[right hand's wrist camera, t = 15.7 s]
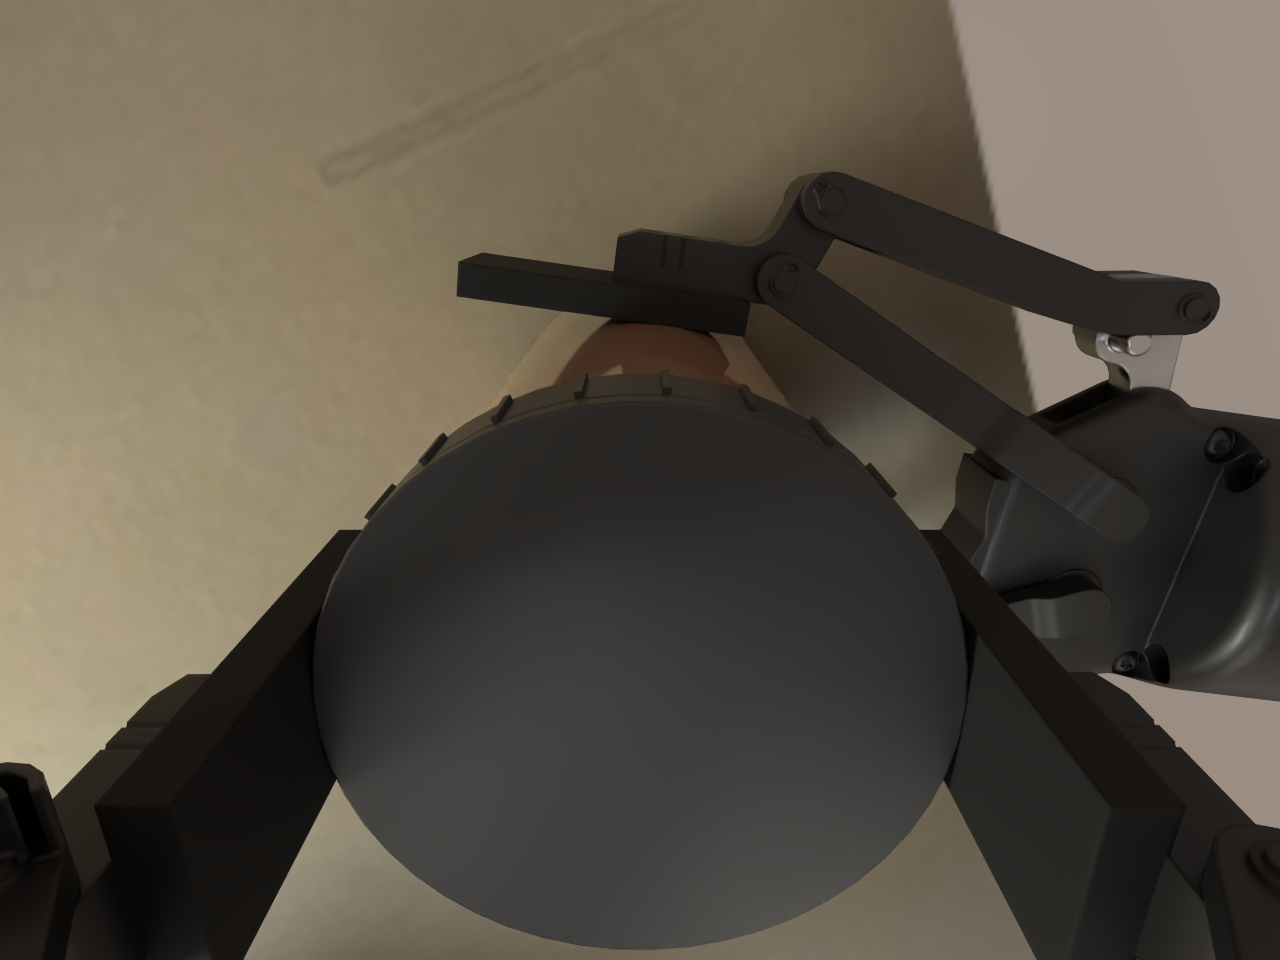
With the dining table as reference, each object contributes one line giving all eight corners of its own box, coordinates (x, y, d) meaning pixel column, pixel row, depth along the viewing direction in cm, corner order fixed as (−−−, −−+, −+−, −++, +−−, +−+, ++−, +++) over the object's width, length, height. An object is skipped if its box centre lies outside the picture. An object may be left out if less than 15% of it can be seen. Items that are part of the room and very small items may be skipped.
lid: (290, 383, 11) (234, 415, 9) (962, 353, 11) (1015, 379, 9) (397, 880, 14) (368, 963, 12) (909, 862, 14) (942, 943, 12)
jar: (795, 318, 24) (1010, 491, 10) (727, 548, 27) (822, 930, 13) (538, 259, 24) (390, 356, 10) (497, 500, 27) (335, 849, 13)
